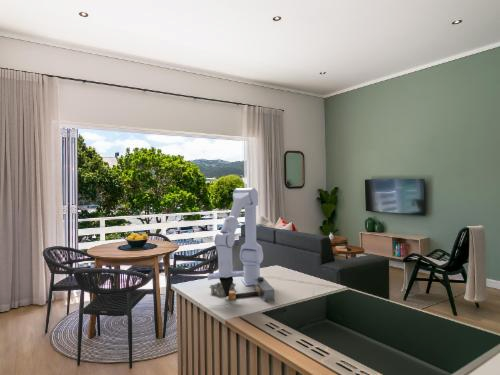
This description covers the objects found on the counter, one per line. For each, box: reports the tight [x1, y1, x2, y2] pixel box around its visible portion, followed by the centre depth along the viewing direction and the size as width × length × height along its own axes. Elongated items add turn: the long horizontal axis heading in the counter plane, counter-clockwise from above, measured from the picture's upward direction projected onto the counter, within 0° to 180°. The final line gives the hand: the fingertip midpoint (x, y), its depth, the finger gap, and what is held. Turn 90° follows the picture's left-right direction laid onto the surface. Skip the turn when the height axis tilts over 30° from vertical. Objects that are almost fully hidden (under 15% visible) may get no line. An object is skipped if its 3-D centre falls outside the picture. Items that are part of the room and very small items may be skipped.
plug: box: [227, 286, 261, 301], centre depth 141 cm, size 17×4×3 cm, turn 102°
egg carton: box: [209, 281, 237, 297], centre depth 148 cm, size 11×8×4 cm
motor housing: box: [254, 276, 275, 302], centre depth 142 cm, size 16×4×5 cm, turn 13°
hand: (226, 295), depth 139 cm, fingers closed
